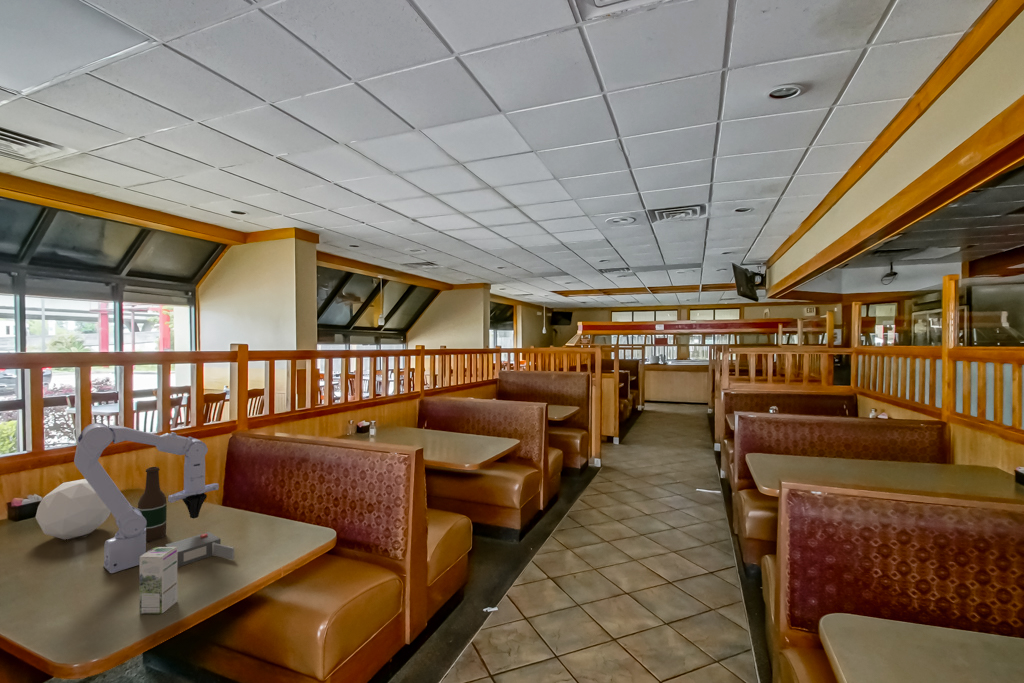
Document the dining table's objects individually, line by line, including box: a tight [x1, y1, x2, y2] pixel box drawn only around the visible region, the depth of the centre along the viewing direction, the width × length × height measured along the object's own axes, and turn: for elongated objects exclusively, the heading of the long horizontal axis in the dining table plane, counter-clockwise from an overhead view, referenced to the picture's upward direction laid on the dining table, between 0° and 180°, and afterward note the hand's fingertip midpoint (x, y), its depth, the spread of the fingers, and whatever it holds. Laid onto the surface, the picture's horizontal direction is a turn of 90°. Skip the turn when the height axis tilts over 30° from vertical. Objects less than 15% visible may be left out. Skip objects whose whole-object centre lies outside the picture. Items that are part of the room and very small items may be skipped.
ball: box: [35, 478, 112, 541], centre depth 156 cm, size 19×20×20 cm
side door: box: [211, 542, 235, 561], centre depth 140 cm, size 9×1×4 cm, turn 70°
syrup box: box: [139, 546, 178, 615], centre depth 114 cm, size 6×6×14 cm
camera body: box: [164, 531, 221, 568], centre depth 141 cm, size 13×9×5 cm
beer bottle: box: [137, 466, 168, 543], centre depth 155 cm, size 8×8×24 cm
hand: (194, 517), depth 149 cm, fingers closed
